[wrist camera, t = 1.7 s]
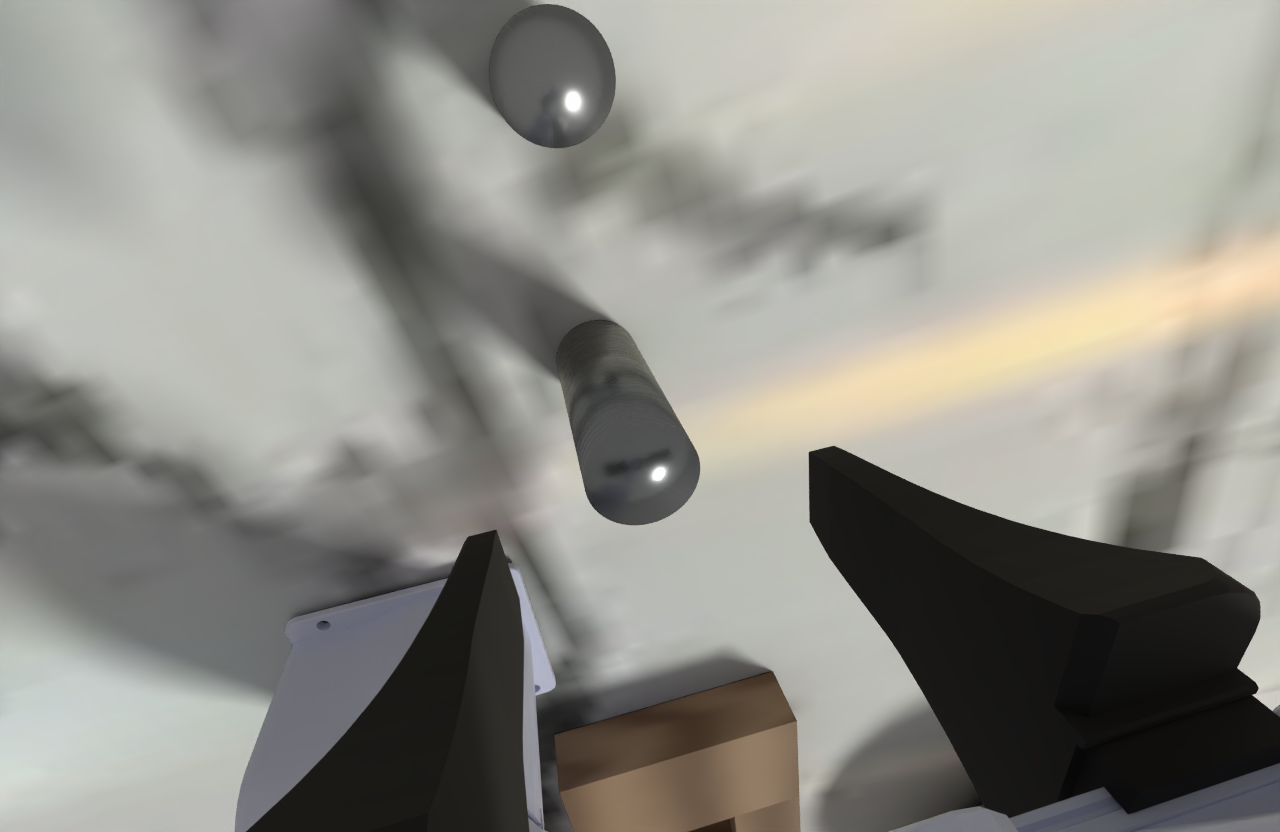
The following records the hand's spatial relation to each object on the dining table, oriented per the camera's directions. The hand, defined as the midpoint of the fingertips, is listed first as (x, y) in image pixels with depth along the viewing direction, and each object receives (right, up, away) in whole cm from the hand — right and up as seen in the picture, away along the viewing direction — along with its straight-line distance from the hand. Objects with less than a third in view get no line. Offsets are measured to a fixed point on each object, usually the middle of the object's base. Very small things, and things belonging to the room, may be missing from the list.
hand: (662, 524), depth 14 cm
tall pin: (-2, +5, +9) cm, 10 cm away
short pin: (-3, +12, +4) cm, 14 cm away
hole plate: (+2, -20, +23) cm, 31 cm away
